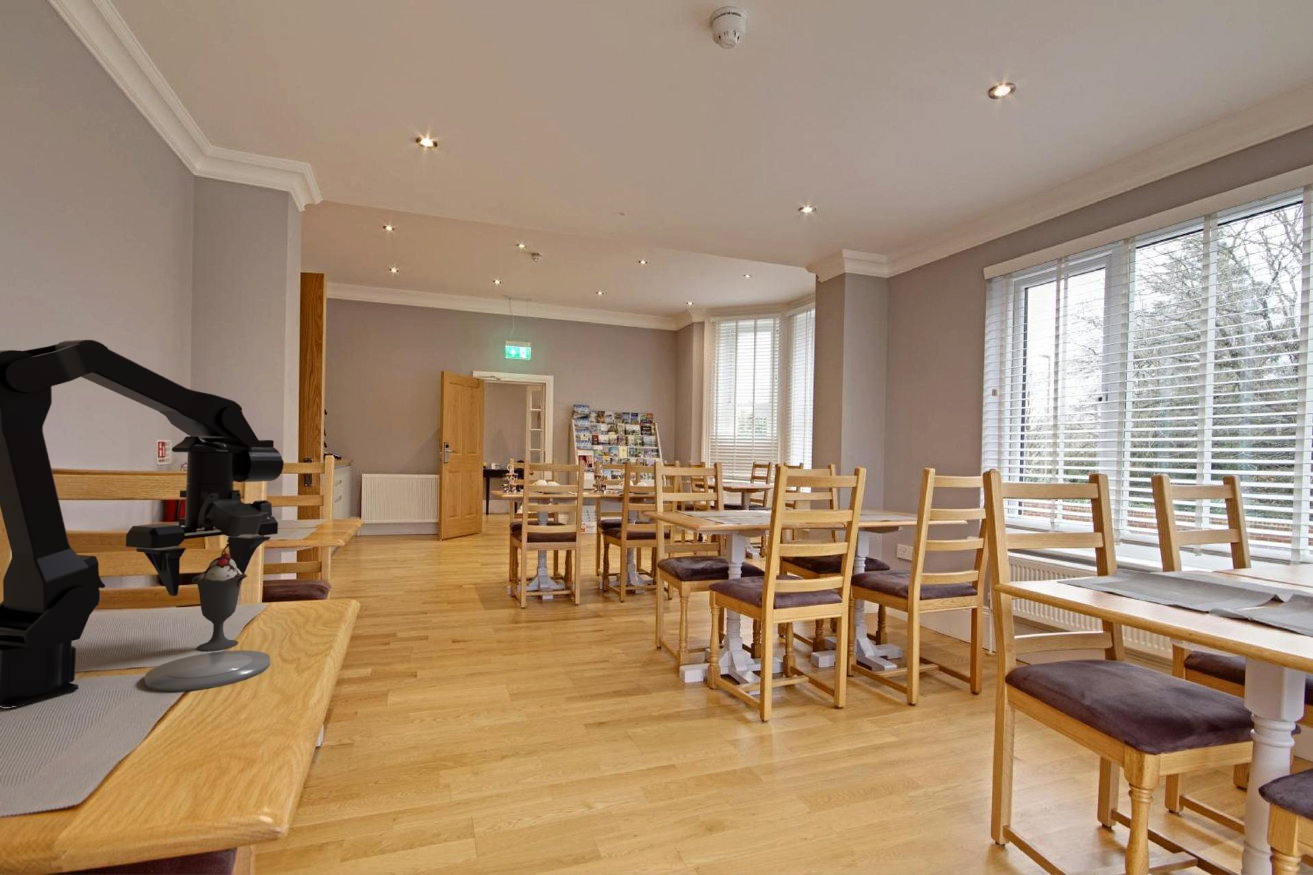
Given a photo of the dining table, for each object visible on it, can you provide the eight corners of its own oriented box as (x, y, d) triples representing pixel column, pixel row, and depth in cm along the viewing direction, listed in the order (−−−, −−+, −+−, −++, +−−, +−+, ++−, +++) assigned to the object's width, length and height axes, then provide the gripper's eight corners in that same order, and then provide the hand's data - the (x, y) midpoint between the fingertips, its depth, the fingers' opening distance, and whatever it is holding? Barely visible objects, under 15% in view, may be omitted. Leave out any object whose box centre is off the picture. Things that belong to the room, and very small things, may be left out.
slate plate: (192, 697, 71) (192, 689, 71) (119, 682, 76) (119, 674, 76) (292, 662, 84) (293, 656, 84) (224, 651, 88) (225, 645, 88)
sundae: (224, 653, 87) (228, 546, 88) (177, 652, 87) (181, 545, 88) (255, 639, 94) (259, 540, 94) (212, 638, 94) (215, 539, 94)
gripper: (182, 487, 81) (177, 608, 80) (305, 482, 98) (302, 581, 98) (125, 485, 84) (120, 600, 84) (254, 481, 102) (250, 576, 102)
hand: (206, 589), depth 92 cm, fingers open, 9 cm apart
